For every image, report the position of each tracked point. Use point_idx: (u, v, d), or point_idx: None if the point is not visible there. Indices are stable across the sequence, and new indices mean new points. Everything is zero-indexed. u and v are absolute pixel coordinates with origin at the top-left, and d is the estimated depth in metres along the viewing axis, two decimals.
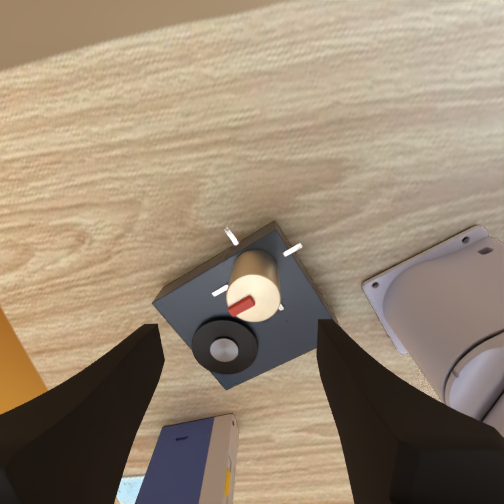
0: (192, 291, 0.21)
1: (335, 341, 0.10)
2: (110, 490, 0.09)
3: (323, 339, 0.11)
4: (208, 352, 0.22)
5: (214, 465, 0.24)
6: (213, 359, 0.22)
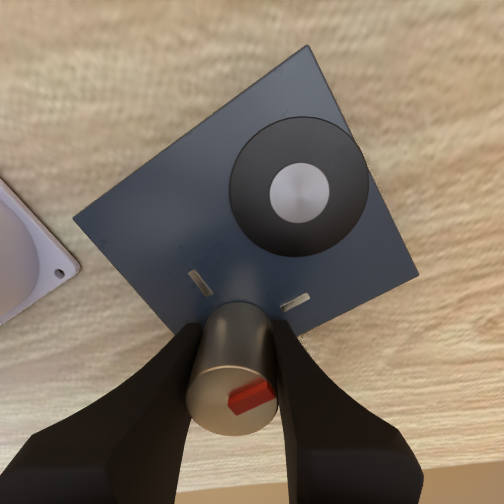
0: (342, 297, 0.13)
1: (280, 342, 0.10)
2: (171, 490, 0.09)
3: (274, 340, 0.11)
4: (333, 182, 0.10)
5: None
6: (325, 163, 0.10)
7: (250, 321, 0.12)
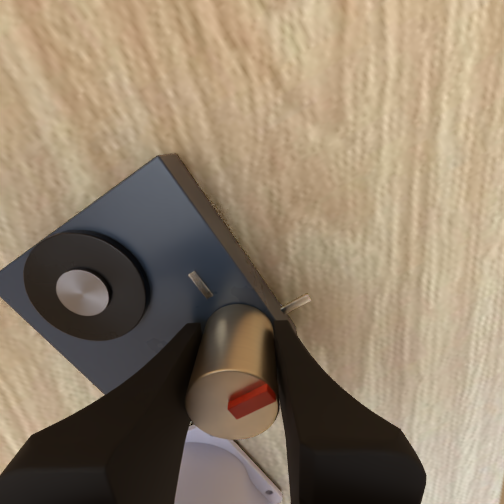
0: (192, 237, 0.12)
1: (282, 342, 0.10)
2: (171, 490, 0.09)
3: (275, 340, 0.11)
4: (69, 264, 0.12)
5: None
6: (55, 271, 0.12)
7: (250, 323, 0.11)
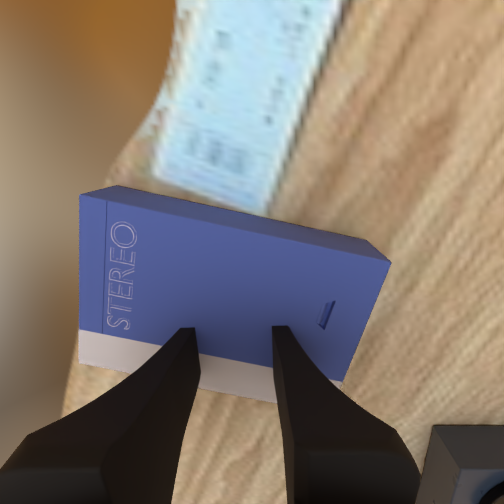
0: None
1: (279, 342, 0.10)
2: (168, 490, 0.09)
3: (272, 340, 0.11)
4: None
5: (232, 375, 0.13)
6: None
7: None
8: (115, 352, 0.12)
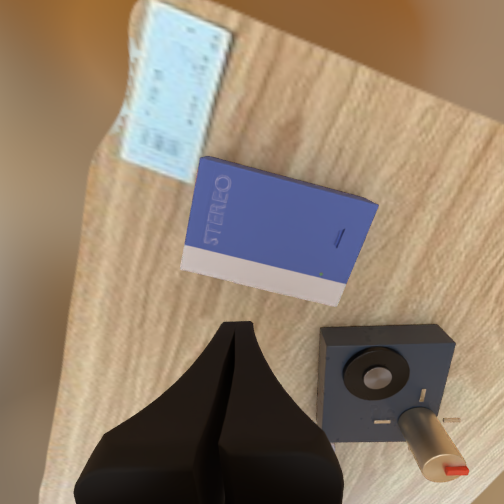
0: (437, 376, 0.23)
1: (237, 343, 0.10)
2: (224, 489, 0.09)
3: None
4: (382, 364, 0.22)
5: (278, 278, 0.20)
6: (373, 363, 0.22)
7: (442, 426, 0.23)
8: (205, 261, 0.20)
